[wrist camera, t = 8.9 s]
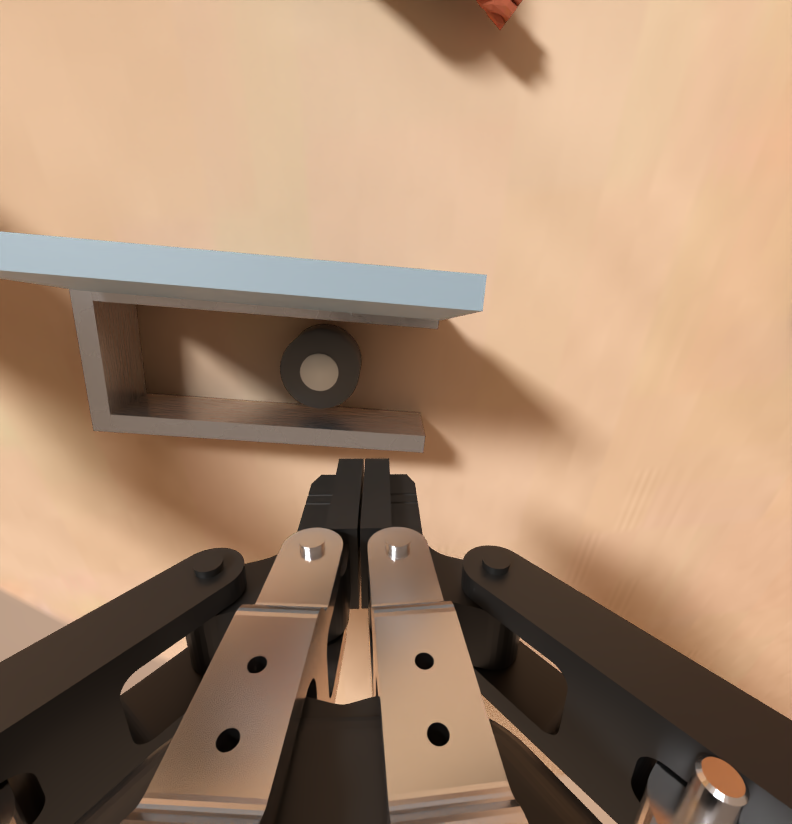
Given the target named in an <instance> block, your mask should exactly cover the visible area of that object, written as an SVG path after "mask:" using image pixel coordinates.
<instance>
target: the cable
mask: <svg viewBox="0 0 792 824" xmlns="http://www.w3.org/2000/svg"><path fill="white" fill-rule="evenodd" d="M476 1H477V3H478V4H479V6H480V7H481V8H482V9H484V10H485V11H486V13H487V15H488V17H489V18H490V19H491V20H492V21H493V23H494V24H495V25H496V26H497V27H498V28H499V29H500V30H501V28H502V27H503V26H504V25H505V23H506V22H507V21H508V19H509V18H510V17H511V15H512V14H513V13H514V11H515V10H516V8H517V6H518V5H519V4H520V3H521V1H522V0H476Z"/></svg>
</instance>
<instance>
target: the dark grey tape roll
mask: <svg viewBox="0 0 792 824" xmlns="http://www.w3.org/2000/svg"><path fill="white" fill-rule="evenodd" d="M360 368H361V353H360V349H359V346H358V344H357V342H356V341H355V340H354V338H353V337H352V336H351V335H350V334H349V333H348V332H346V331H345V330H343V329H342V328H340V327H337V326H334V325H328V324H320V325H315V326H312V327H310V328H308V329H306V330H305V331H303V332H302V333H301V334H300V335H299V336H298V337H297V338H296V339H295V340H294V341H293V342H292V343H291V344H290V345H289V346H288V347H287V348H286V350H285V352H284V354H283V356H282V359H281V365H280V373H281V378H282V381H283V384H284V386H285V388H286V389H287V391H288V392H289V393H290V395H291V396H292V397H293V398H294V399H296V400H297V401H298V402H300V403H302V404H304V405H306V406H309V407H312V408H320V409H323V408H331V407H334V406H337V405H339V404H341V403H343V402H344V401H345V400H347V399H348V398H349V397H350V396H351V394H352V393H353V391H354V390H355V388H356V385H357V382H358V378H359V373H360Z"/></svg>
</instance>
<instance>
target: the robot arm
mask: <svg viewBox="0 0 792 824" xmlns="http://www.w3.org/2000/svg"><path fill="white" fill-rule="evenodd" d="M360 584H361V596H362V608H368V617H369V651H370V668H371V685H372V697H371V698H368V699H364V700H361V701H357V702H353V703H350V704H345V705H339V704H335V699H336V694H337V688H338V682H339V677H340V671H341V666H342V660H343V654H344V649H345V643H346V636H347V634H346V627H347V624H348V620H349V609H359V600H360ZM185 636H186V641H187V646H188V647H187V648H186V649H184V650H183V651H182V652H180V653H179V654H178V655H176V656H175V657H173V658H172V659H171V660H169V661H168V662H166V663H165V664H164V665H162V666H161V667H160V668H158V669H157V670H155V671H154V672H153V673H151V674H150V675H149V676H147V677H146V678H144V679H143V680H142V681H140V682H139V683H137V684H136V685H135V686H133V687H132V688H130V689H129V690H128V691H126V692H125V693H123V694H122V695H120V693H121V690H122V688H123V686H124V684H125V682H126V681H127V679H128V678H129V677H130V676H131V675H132V674H133V673H134V672H135V671H137V670H138V669H139V668H141V667H142V666H143V665H145V664H146V663H148V662H149V661H151V660H152V659H154V658H155V657H156V656H158V655H159V654H161V653H162V652H164V651H165V650H166V649H168V648H169V647H171V646H172V645H174V644H175V643H176V642H178V641H179V640H181V639H182V638H184V637H185ZM520 638H522V639H523V640H524V641H525V642H527V643H528V644H529V645H531V646H532V647H533V648H535V649H536V650H537V651H539V652H540V653H541V654H542V655H544V656H545V657H546V658H548V659H549V660H550V661H552V662H553V663H554V664H555V665H556V666H557V667H558V668H559V669H560V671H561V672H562V673H561V672H559V671H558V670H557V669H555V668H554V667H553V666H552V665H550V664H549V663H548V662H546V661H545V660H544V659H543V658H541V657H540V656H539V655H537V654H536V653H535V652H533V651H532V650H531V649H530V648H528V647H527V646H526V645H524V644H523V643H522V642H521V641H519V639H520ZM481 694H482V695H483V696H484V697H485V698H486V699H487V700H488V701H489V702H490V703H491V704H492V705H493V706H494V707H495V708H497V709H498V710H499V711H500V712H501V713H502V714H503V715H504V716H505V717H506V718H507V719H508V720H509V721H510V722H511V723H512V724H513V725H514V726H515V727H517V728H518V729H519V730H520V731H521V732H522V733H523V734H524V735H525V736H526V737H527V738H528V739H529V740H530V741H531V742H532V743H533V744H534V745H535V746H537V747H538V748H539V749H540V750H541V751H542V752H543V753H544V754H545V755H546V756H547V757H548V758H549V759H550V760H551V761H552V762H553V763H554V764H555V765H557V766H558V767H559V768H560V769H561V770H562V771H563V772H564V773H565V774H566V775H567V776H568V777H569V778H570V779H571V780H572V781H573V782H575V784H577V785H578V786H579V787H580V788H581V789H582V790H583V791H584V792H585V793H586V794H587V795H588V796H589V797H590V798H591V799H592V800H593V801H594V802H596V803H597V804H598V805H599V806H600V807H601V808H602V809H603V810H604V811H605V812H606V813H607V814H608V815H609V816H610V817H611V818H612V819H613V820H614V821H615V822H617V823H618V824H792V720H790V719H788V718H787V717H785V716H783V715H782V714H780V713H779V712H777V711H775V710H774V709H772V708H770V707H769V706H767V705H765V704H764V703H762V702H760V701H759V700H757V699H755V698H754V697H752V696H750V695H749V694H747V693H745V692H744V691H742V690H741V689H739V688H737V687H736V686H734V685H732V684H731V683H729V682H727V681H726V680H724V679H722V678H721V677H719V676H717V675H716V674H714V673H712V672H711V671H709V670H707V669H706V668H704V667H703V666H701V665H699V664H698V663H696V662H694V661H693V660H691V659H689V658H688V657H686V656H684V655H683V654H681V653H679V652H678V651H676V650H674V649H673V648H671V647H670V646H668V645H666V644H665V643H663V642H661V641H660V640H658V639H656V638H655V637H653V636H651V635H650V634H648V633H646V632H645V631H643V630H641V629H640V628H638V627H636V626H635V625H633V624H632V623H630V622H628V621H627V620H625V619H623V618H622V617H620V616H618V615H617V614H615V613H613V612H612V611H610V610H608V609H607V608H605V607H603V606H602V605H600V604H598V603H597V602H595V601H594V600H592V599H590V598H589V597H587V596H585V595H584V594H582V593H580V592H579V591H577V590H575V589H574V588H572V587H570V586H569V585H567V584H565V583H564V582H562V581H560V580H559V579H557V578H556V577H554V576H552V575H551V574H549V573H547V572H546V571H544V570H542V569H541V568H539V567H537V566H536V565H534V564H532V563H531V562H529V561H527V560H526V559H524V558H522V557H521V556H519V555H518V554H516V553H514V552H512V551H510V550H508V549H505V548H502V547H498V546H480V547H476V548H474V549H472V550H470V551H469V552H467V554H466V555H465V556H464V559H463V560H461V559H457V558H452V557H448V556H445V555H442V554H440V553H438V552H436V551H434V550H433V549H431V548H430V547H429V546H428V543H427V540H426V539H425V537H424V536H423V535H422V528H421V521H420V514H419V508H418V501H417V495H416V487H415V483H414V482H413V481H412V480H411V479H410V477H409V476H408V475H407V474H390V469H389V459H365V470H364V460H363V459H339V463H338V468H337V472H336V475H321V476H320V477H319V478H318V479H316V480H315V481H314V482H313V483H312V484H311V488H310V491H309V496H308V498H307V501H306V505H305V508H304V511H303V514H302V518H301V521H300V524H299V528H298V531H297V532H296V533H294V534H292V535H291V536H289V537H288V538H287V539H286V540H285V541H284V543H283V544H282V546H281V549H280V551H279V553H278V555H276V556H273V557H271V558H268V559H264V560H260V561H256V562H251V563H247V564H244V559H243V557H242V555H241V554H240V553H239V552H237V551H235V550H233V549H228V548H214V549H208V550H205V551H202V552H199V553H196V554H194V555H192V556H190V557H189V558H187V559H185V560H183V561H181V562H180V563H178V564H176V565H174V566H172V567H171V568H169V569H167V570H165V571H163V572H162V573H160V574H158V575H156V576H155V577H153V578H151V579H149V580H147V581H146V582H144V583H142V584H140V585H138V586H137V587H135V588H133V589H131V590H129V591H128V592H126V593H124V594H122V595H120V596H119V597H117V598H115V599H113V600H111V601H110V602H108V603H106V604H104V605H102V606H101V607H99V608H97V609H95V610H93V611H92V612H90V613H88V614H86V615H84V616H83V617H81V618H79V619H77V620H75V621H74V622H72V623H70V624H68V625H66V626H65V627H63V628H61V629H59V630H58V631H56V632H54V633H52V634H50V635H48V636H47V637H45V638H43V639H41V640H39V641H38V642H36V643H34V644H32V645H30V646H29V647H27V648H25V649H23V650H21V651H20V652H18V653H16V654H14V655H13V656H11V657H9V658H7V659H5V660H4V661H2V662H0V824H602V823H601V822H600V821H599V820H598V819H597V818H596V816H595V815H594V814H593V813H592V812H591V811H590V810H589V809H587V807H586V806H585V805H584V804H583V803H582V802H581V801H580V800H579V799H578V798H577V797H576V796H575V795H574V794H573V793H572V792H571V791H570V790H569V789H568V788H567V787H566V786H565V785H564V784H563V783H562V782H561V781H560V780H559V779H558V778H557V777H556V776H555V775H554V773H553V772H552V771H551V770H550V769H549V768H548V767H547V766H546V765H545V764H544V763H543V762H542V761H541V760H540V759H539V758H538V757H537V756H536V755H535V754H534V753H533V752H532V751H531V750H530V749H529V748H528V747H527V746H526V745H525V744H524V743H523V742H522V741H521V740H520V739H518V738H517V737H516V736H515V735H513V734H512V733H511V732H510V731H509V730H507V729H506V728H504V727H503V726H501V725H499V724H498V723H496V722H495V721H493V720H491V719H489V718H488V715H487V712H486V708H485V705H484V702H483V699H482V695H481Z"/></svg>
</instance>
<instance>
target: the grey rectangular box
mask: <svg viewBox="0 0 792 824" xmlns="http://www.w3.org/2000/svg"><path fill="white" fill-rule="evenodd" d="M69 291H70V297H71V302H72V308H73V314H74V320H75V326H76V331H77V337H78V343H79V349H80V355H81V361H82V366H83V372H84V378H85V384H86V390H87V396H88V401H89V407H90V413H91V419H92V425H93V431H104V432H119V433H134V434H150V435H165V436H180V437H195V438H210V439H225V440H240V441H255V442H270V443H285V444H300V445H315V446H331V447H346V448H361V449H376V450H391V451H406V452H421V453H423V450H424V442H425V433H424V429H423V424H422V420H421V415H420V413H417V412H403V411H389V410H375V409H361V408H347V407H331V408H323V409H320V408H312V407H309V406H306V405H304V404H290V403H276V402H262V401H248V400H234V399H220V398H206V397H192V396H178V395H164V394H150V393H147V392H146V384H145V376H144V368H143V359H142V351H141V343H140V335H139V326H138V318H137V310H136V304H138V305H150V306H163V307H175V308H187V309H199V310H211V311H224V312H236V313H248V314H260V315H272V316H285V317H297V318H309V319H321V320H333V321H346V322H358V323H370V324H382V325H395V326H407V327H419V328H431V329H438V323H439V320H430V319H418V318H406V317H394V316H382V315H370V314H358V313H346V312H334V311H322V310H310V309H298V308H286V307H274V306H262V305H250V304H238V303H226V302H213V301H201V300H189V299H177V298H165V297H153V296H141V295H129V294H117V293H105V292H93V291H81V290H74V289H69Z"/></svg>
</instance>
